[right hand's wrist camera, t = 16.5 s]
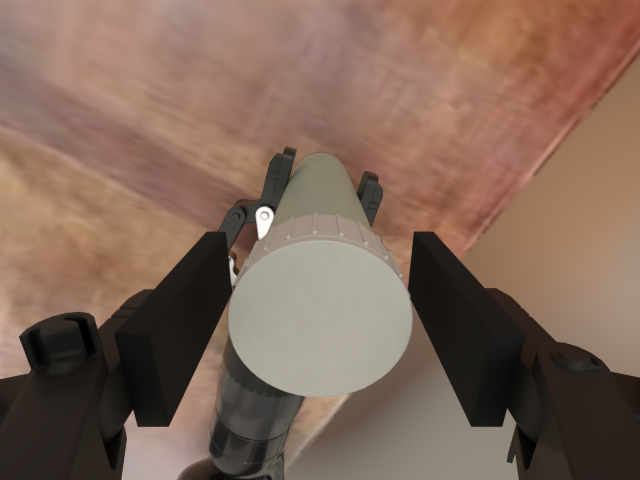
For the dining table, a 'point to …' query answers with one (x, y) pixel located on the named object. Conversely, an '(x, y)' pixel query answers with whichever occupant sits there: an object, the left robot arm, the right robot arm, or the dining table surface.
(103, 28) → the dining table surface
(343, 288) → the lid
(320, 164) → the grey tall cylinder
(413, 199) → the dining table surface
